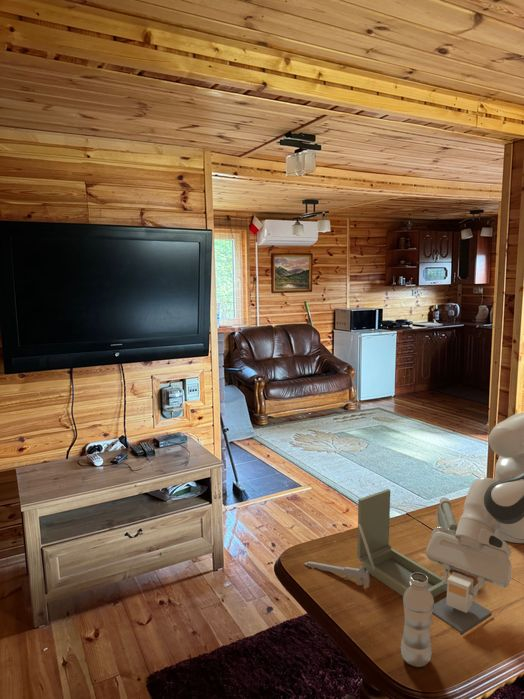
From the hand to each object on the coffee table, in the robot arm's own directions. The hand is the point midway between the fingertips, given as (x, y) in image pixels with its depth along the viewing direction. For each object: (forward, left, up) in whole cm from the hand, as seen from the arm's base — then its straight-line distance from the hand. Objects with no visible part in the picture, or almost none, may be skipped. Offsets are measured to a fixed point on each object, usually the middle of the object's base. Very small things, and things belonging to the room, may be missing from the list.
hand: (459, 589), depth 123 cm
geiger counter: (-23, -21, -7) cm, 32 cm away
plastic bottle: (+20, +4, -7) cm, 22 cm away
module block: (-1, 0, -4) cm, 4 cm away
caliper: (+15, -29, -7) cm, 34 cm away
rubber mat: (-1, 0, -7) cm, 7 cm away
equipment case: (+1, -18, -7) cm, 19 cm away
